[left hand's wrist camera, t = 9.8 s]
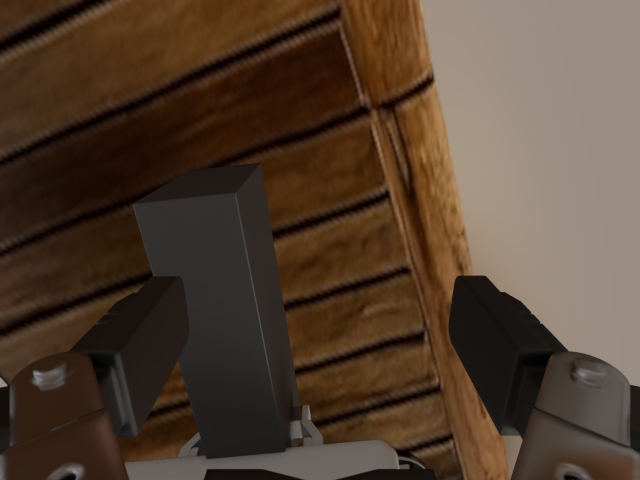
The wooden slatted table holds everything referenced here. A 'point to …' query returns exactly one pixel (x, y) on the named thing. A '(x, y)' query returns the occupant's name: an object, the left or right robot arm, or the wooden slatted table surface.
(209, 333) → the bar
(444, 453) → the wooden slatted table surface
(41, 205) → the wooden slatted table surface
